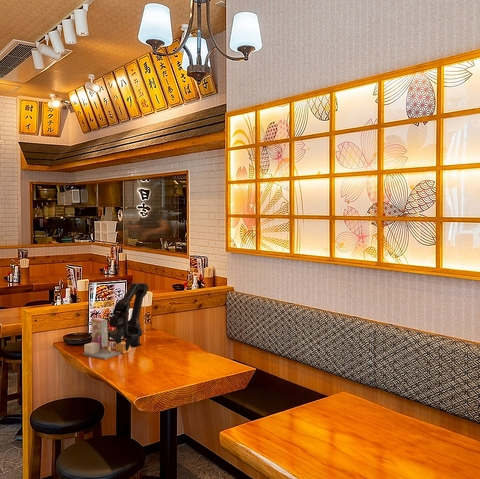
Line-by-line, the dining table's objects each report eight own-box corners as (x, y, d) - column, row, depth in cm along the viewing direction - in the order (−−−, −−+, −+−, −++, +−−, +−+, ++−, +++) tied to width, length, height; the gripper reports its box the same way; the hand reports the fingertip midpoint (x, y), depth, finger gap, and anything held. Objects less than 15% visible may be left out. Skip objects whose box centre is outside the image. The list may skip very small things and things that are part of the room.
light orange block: (122, 349, 296) (122, 342, 296) (130, 351, 293) (130, 343, 292) (115, 352, 291) (115, 344, 290) (123, 353, 288) (123, 345, 287)
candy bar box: (91, 344, 307) (90, 318, 306) (98, 343, 310) (98, 317, 309) (101, 348, 299) (100, 321, 298) (108, 346, 303) (107, 319, 302)
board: (98, 349, 295) (98, 340, 295) (120, 354, 287) (119, 344, 286) (83, 355, 285) (83, 345, 285) (104, 359, 277) (104, 349, 276)
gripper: (100, 324, 288) (101, 351, 289) (124, 328, 279) (125, 355, 280) (114, 320, 298) (115, 346, 299) (138, 324, 289) (138, 350, 290)
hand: (123, 349), depth 292 cm, fingers closed on light orange block, 6 cm apart
